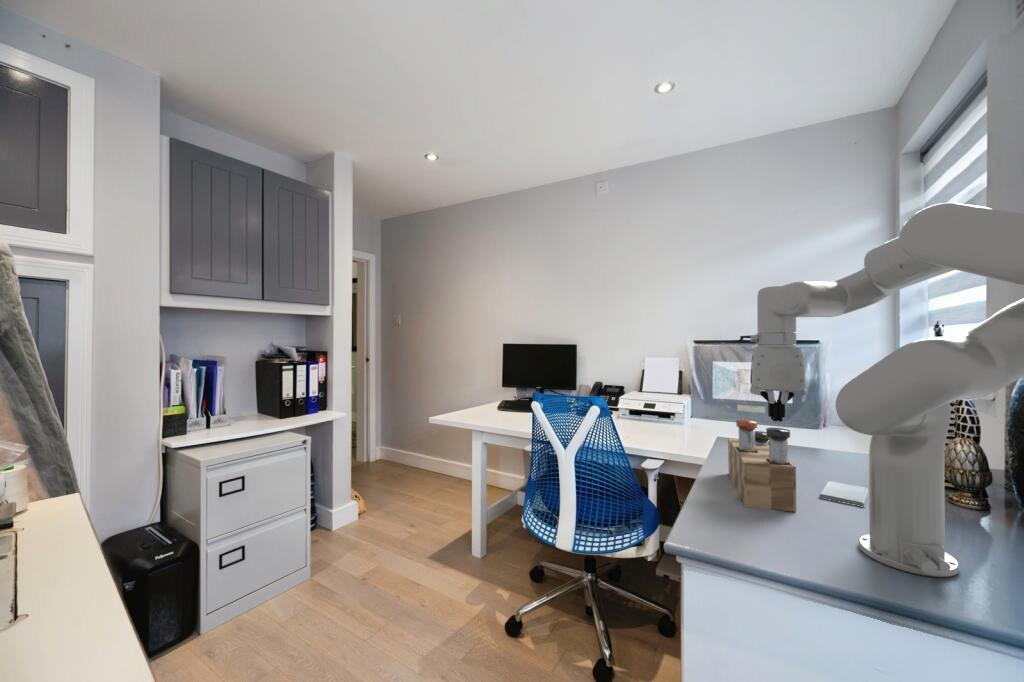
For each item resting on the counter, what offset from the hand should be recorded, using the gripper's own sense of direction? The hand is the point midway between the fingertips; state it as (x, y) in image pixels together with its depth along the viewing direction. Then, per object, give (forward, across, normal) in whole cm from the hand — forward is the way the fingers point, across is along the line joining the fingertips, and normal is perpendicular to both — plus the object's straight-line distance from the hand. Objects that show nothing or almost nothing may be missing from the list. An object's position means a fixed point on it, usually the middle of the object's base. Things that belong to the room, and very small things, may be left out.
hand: (776, 420), depth 95 cm
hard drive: (+20, +17, +11) cm, 29 cm away
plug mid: (+14, -4, +9) cm, 17 cm away
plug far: (+19, 0, +18) cm, 26 cm away
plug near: (+14, 0, 0) cm, 14 cm away
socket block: (+20, -2, +8) cm, 22 cm away
